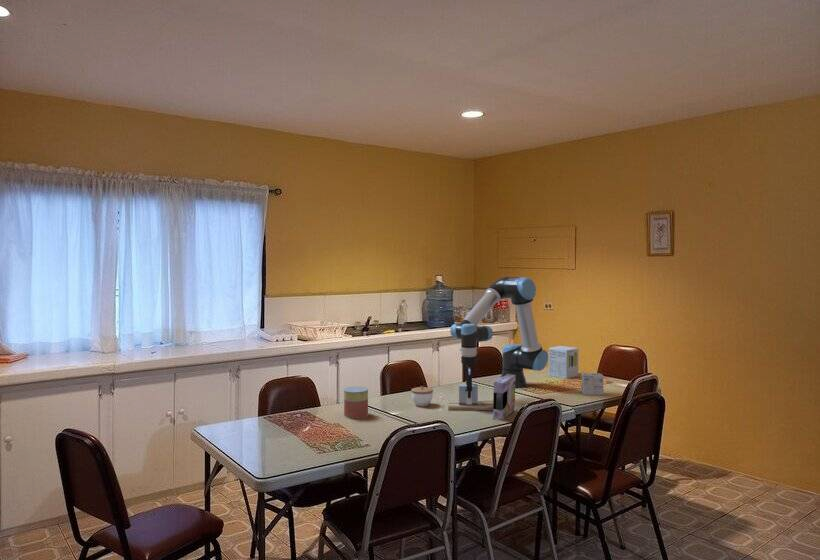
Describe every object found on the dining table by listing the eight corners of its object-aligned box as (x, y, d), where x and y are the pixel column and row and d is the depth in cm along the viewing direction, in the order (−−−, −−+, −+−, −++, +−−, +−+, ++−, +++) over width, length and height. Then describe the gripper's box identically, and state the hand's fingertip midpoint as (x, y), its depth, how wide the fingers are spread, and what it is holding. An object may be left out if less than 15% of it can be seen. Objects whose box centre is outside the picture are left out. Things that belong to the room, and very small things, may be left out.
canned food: (373, 415, 270) (373, 389, 269) (353, 419, 262) (353, 393, 262) (358, 410, 278) (357, 385, 277) (339, 414, 270) (338, 389, 270)
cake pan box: (501, 421, 259) (501, 382, 258) (491, 419, 261) (491, 381, 260) (515, 411, 275) (516, 374, 275) (505, 410, 278) (506, 373, 277)
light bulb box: (601, 392, 313) (601, 372, 312) (604, 395, 306) (604, 375, 306) (580, 392, 314) (581, 372, 313) (583, 395, 307) (583, 375, 307)
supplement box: (566, 379, 348) (566, 350, 347) (548, 375, 358) (548, 347, 357) (578, 376, 357) (579, 347, 356) (560, 372, 367) (560, 345, 366)
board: (448, 403, 291) (448, 400, 291) (500, 404, 289) (500, 401, 289) (448, 410, 278) (448, 407, 278) (502, 411, 276) (502, 407, 276)
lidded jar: (426, 408, 281) (426, 389, 280) (407, 405, 286) (407, 387, 286) (436, 403, 290) (436, 385, 289) (418, 401, 295) (418, 382, 295)
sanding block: (458, 402, 286) (459, 384, 286) (477, 402, 286) (477, 384, 285) (459, 404, 281) (459, 386, 281) (477, 404, 281) (477, 386, 280)
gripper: (460, 352, 292) (460, 398, 293) (461, 358, 274) (461, 407, 275) (475, 352, 291) (475, 398, 292) (477, 358, 273) (477, 407, 274)
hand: (468, 402), depth 283 cm, fingers closed on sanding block, 5 cm apart
